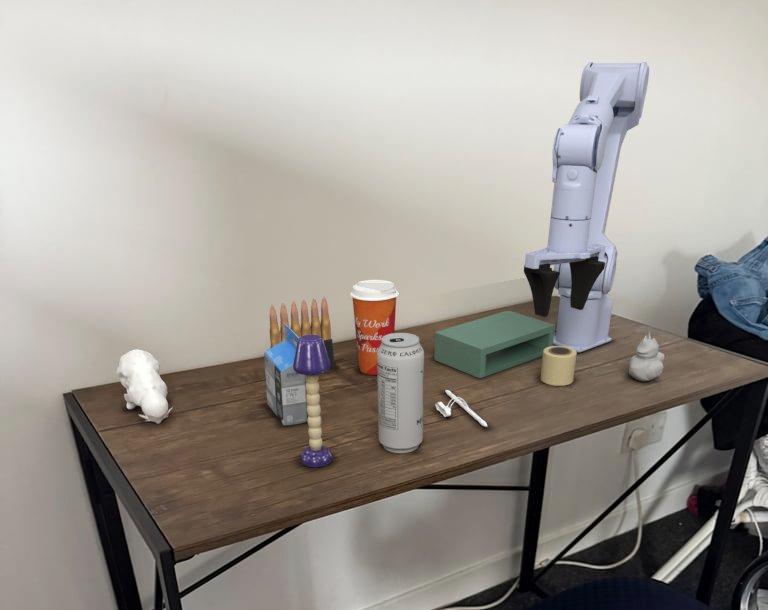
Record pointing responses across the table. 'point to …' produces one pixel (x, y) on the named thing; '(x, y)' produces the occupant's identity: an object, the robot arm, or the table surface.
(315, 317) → the ammunition clip
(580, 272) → the robot arm
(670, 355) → the table surface
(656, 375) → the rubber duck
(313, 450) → the toy lamp
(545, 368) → the tape roll
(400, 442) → the energy drink can
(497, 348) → the desk shelf
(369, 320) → the paper cup
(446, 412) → the picture light
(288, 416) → the label tape box
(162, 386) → the white animal figurine
